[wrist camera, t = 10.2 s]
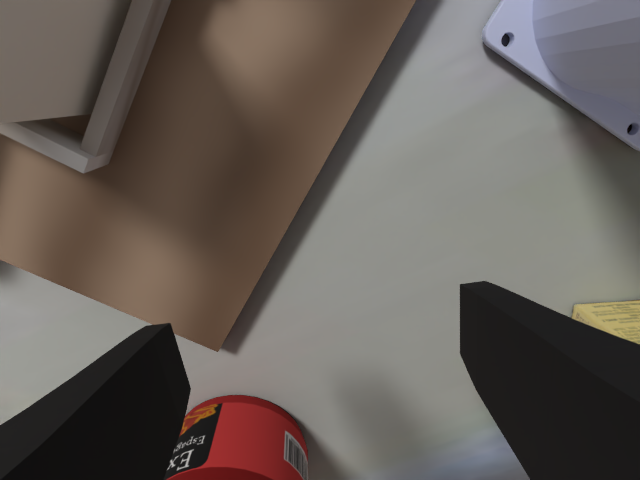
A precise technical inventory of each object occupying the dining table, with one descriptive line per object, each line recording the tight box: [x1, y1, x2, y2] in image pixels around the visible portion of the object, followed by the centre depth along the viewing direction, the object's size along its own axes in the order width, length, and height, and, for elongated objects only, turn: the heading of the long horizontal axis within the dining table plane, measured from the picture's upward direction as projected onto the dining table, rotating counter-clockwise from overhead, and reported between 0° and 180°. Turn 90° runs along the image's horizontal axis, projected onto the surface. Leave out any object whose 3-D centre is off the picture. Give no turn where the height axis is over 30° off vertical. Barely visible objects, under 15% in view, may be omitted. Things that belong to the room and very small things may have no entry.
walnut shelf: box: [0, 0, 416, 352], centre depth 14 cm, size 15×26×4 cm, turn 151°
